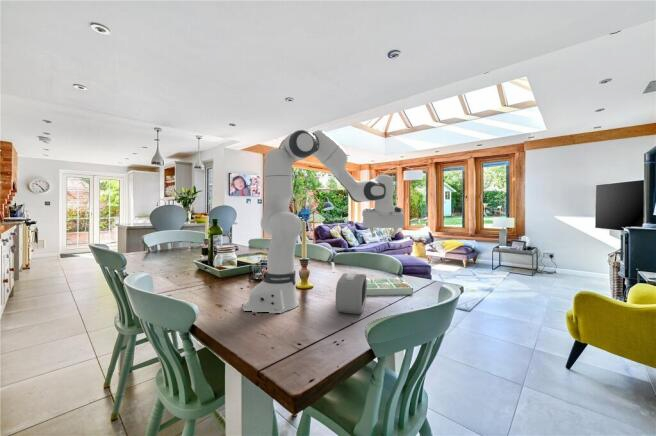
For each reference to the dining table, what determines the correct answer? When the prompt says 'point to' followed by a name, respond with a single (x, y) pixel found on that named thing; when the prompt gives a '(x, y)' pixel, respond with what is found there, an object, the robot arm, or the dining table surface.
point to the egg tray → (376, 289)
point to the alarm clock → (351, 293)
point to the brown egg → (403, 285)
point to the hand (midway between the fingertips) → (383, 237)
